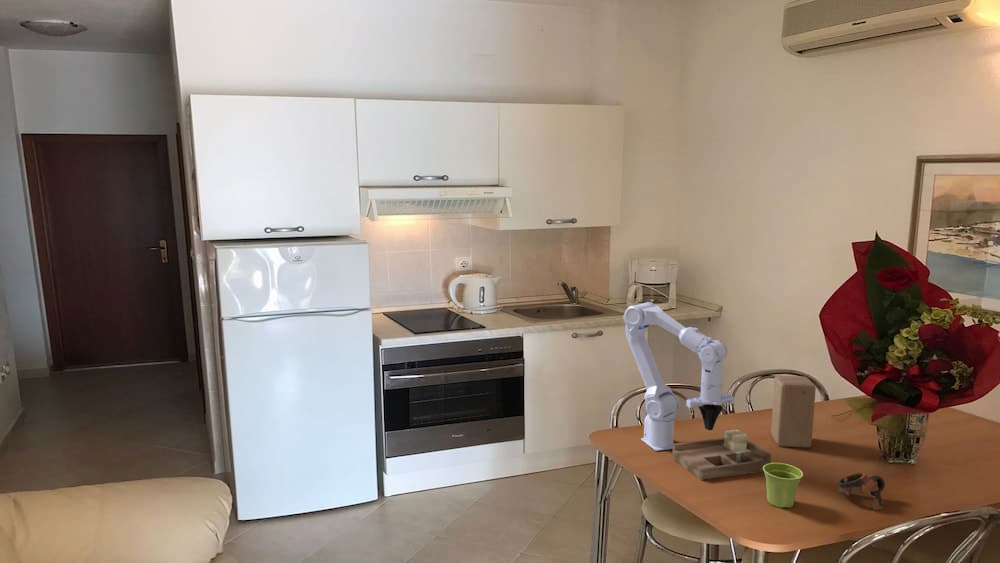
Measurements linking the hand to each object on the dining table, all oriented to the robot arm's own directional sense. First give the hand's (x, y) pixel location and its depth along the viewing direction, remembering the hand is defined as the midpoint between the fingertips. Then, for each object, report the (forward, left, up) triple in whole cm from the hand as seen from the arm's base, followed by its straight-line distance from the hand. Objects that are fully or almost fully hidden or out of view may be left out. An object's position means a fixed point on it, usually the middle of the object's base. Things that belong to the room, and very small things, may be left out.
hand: (708, 428), depth 200 cm
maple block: (+1, +9, -6) cm, 11 cm away
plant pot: (+29, +3, -10) cm, 30 cm away
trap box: (+4, +2, -9) cm, 10 cm away
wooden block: (-4, +33, -10) cm, 34 cm away
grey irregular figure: (+34, +24, -10) cm, 42 cm away
